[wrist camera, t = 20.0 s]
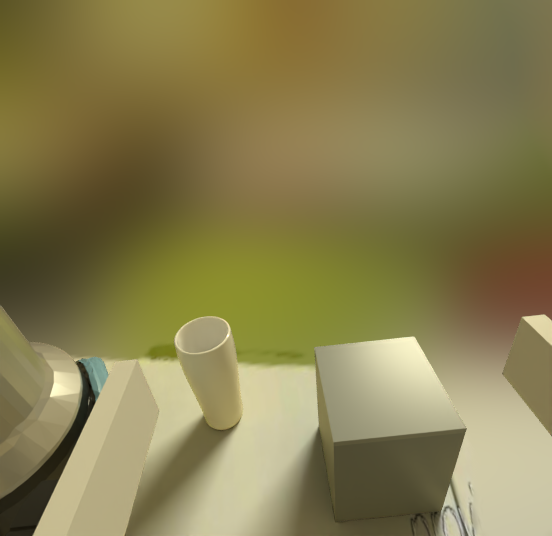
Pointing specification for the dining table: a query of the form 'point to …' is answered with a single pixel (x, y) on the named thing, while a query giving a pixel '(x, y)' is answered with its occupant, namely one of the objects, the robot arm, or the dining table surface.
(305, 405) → the dining table surface
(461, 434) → the tall grey box
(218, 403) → the drinking glass
